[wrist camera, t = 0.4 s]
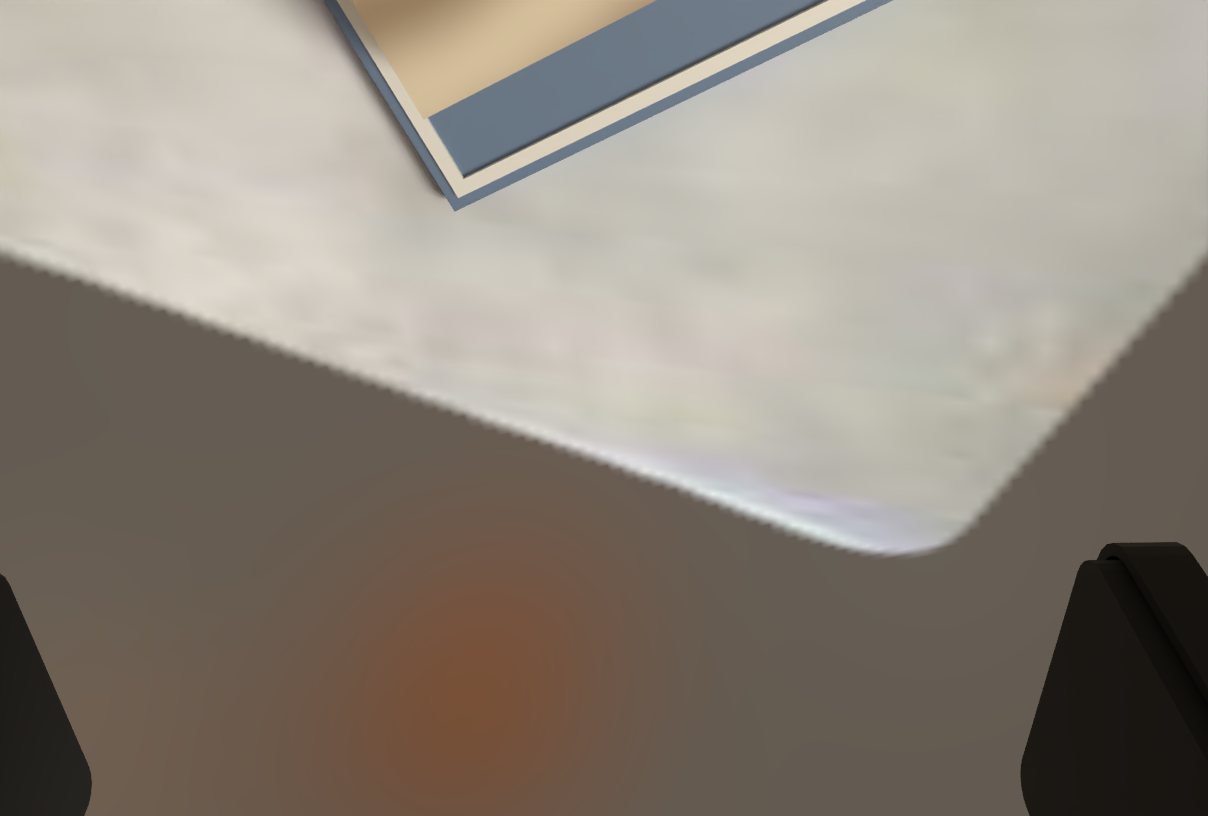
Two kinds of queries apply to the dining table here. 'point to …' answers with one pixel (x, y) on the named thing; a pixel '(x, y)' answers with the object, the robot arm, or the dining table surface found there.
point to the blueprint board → (557, 70)
